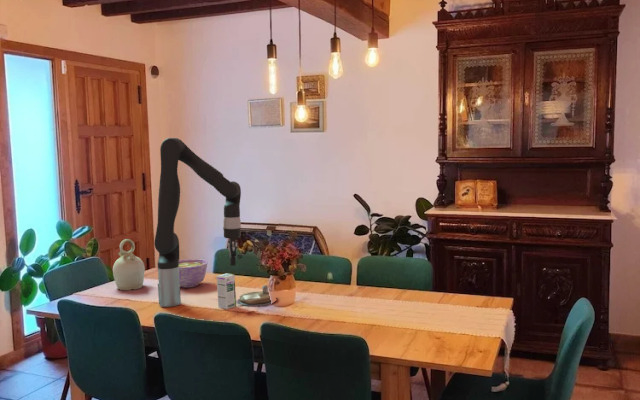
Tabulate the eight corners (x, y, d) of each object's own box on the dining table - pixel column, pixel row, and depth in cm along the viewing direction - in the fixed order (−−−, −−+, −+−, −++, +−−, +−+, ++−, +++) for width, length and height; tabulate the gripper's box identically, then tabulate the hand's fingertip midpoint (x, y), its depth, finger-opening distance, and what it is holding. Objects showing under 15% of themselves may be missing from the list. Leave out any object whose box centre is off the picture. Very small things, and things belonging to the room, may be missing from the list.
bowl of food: (161, 289, 300) (159, 266, 299) (181, 280, 319) (180, 258, 318) (196, 291, 295) (195, 268, 293) (215, 281, 314) (214, 259, 312)
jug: (112, 286, 310) (109, 238, 308) (143, 282, 317) (140, 235, 314) (115, 292, 297) (112, 242, 294) (148, 288, 303) (144, 239, 300)
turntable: (232, 301, 272) (232, 290, 272) (254, 292, 286) (254, 283, 285) (260, 305, 264) (260, 295, 263) (281, 296, 277) (281, 286, 277)
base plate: (242, 309, 262) (242, 307, 262) (229, 299, 278) (229, 298, 278) (283, 302, 271) (283, 301, 271) (268, 293, 287) (268, 292, 287)
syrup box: (227, 309, 262) (225, 277, 261) (217, 307, 266) (216, 275, 264) (236, 306, 267) (235, 274, 265) (227, 304, 270) (225, 272, 269)
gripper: (242, 228, 261) (242, 267, 263) (239, 224, 274) (240, 261, 276) (224, 229, 260) (225, 268, 262) (222, 224, 272) (223, 262, 274)
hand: (232, 265), depth 269 cm, fingers closed
